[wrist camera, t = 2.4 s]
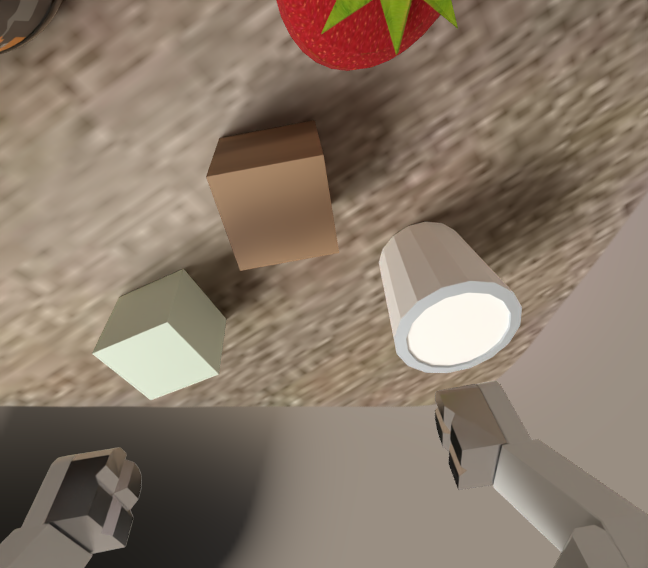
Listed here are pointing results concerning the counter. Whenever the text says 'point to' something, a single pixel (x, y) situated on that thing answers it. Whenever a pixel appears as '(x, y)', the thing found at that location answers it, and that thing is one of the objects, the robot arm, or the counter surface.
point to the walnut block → (274, 195)
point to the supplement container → (24, 21)
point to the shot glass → (444, 300)
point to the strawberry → (359, 28)
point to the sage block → (163, 336)
